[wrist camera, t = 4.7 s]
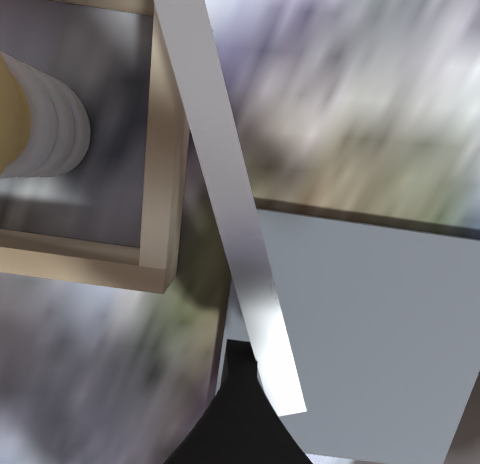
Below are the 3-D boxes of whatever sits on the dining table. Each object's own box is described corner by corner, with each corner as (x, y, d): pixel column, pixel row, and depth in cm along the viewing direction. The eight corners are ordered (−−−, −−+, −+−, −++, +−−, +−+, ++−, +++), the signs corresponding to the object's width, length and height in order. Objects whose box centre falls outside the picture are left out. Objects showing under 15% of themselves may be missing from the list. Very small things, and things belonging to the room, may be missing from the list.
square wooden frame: (176, 274, 12) (163, 294, 10) (-70, 240, 12) (-130, 254, 10) (202, -9, 10) (192, -53, 8) (-106, -57, 10) (-194, -114, 8)
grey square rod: (305, 376, 11) (317, 417, 9) (260, 385, 11) (264, 427, 9) (192, -91, 7) (176, -172, 6) (130, -71, 8) (96, -144, 6)
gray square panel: (433, 460, 14) (440, 470, 14) (209, 431, 14) (208, 441, 14) (516, 244, 12) (527, 247, 11) (242, 205, 12) (241, 207, 11)
